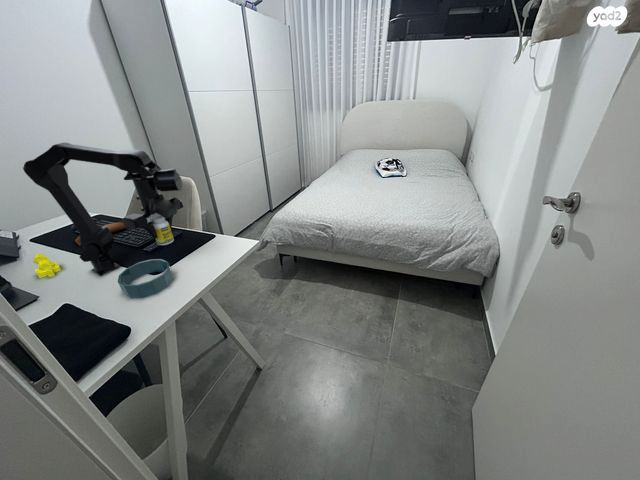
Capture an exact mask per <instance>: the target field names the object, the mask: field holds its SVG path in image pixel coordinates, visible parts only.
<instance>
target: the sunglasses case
mask: <svg viewBox="0 0 640 480" xmlns="http://www.w3.org/2000/svg"><path fill="white" fill-rule="evenodd" d="M101 227H102V228H105V227H107V228H108V229H109V231H110V233H111V234H113V233H116V232H119V231H122V230H128V228H127V226H124V224H123V222H122V221H121V222H120V221H119V222H112V223H108V224H105V225H103V226H101ZM74 242H75V243H76V244H77V245H78V246H80V247H81V246H82V244H81V242H80V235H79V236H78V237H76V239H74Z"/></svg>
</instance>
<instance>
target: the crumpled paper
mask: <svg viewBox="0 0 640 480" xmlns="http://www.w3.org/2000/svg"><path fill="white" fill-rule="evenodd" d="M33 263H34V264H36V265H37V268H36V269H34V271H35V274H36V275H37V277H38V278H39V279H42V278H44V277H48V278H52V277H55V276H56V274H55V273H57V272H61V271H62V269H61V266H60V265H59V263H58V262H57V261H52V260H50V259H49V257H48V256H47V255H44V254H42V253H38V252H37V253H36V254H35V256H34V258H33Z"/></svg>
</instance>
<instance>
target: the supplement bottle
mask: <svg viewBox="0 0 640 480" xmlns="http://www.w3.org/2000/svg"><path fill="white" fill-rule="evenodd" d="M150 220H151V221H153V222H155V223H154V225H153V226H154V228H155V231H156V233H157V237H158V238H157V239H156V238H154V239H155V242H156V244H157V245H158V246H167V245H169V244H172V243H173V242H174V241H175V239H174V235H173V232H172V229H170V226H169V223H168V221H165V218H164V217H162V216H161V215H159V214H157V215H154V216H152V217H150Z"/></svg>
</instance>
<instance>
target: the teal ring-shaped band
mask: <svg viewBox="0 0 640 480" xmlns="http://www.w3.org/2000/svg"><path fill="white" fill-rule="evenodd" d="M153 273H161V274H160V275H158V276H156V277H154V278H153V279H151V280H147V281H145V282H142V283H137V284H132V283H133V282H134V281H135V280H138V279H139V278H141V277H143V276H145V275H149V274H153ZM174 279H175V278H174V274H173V271H172V267H171V265H170V262H169V261H167V260H164V259H162V258H154V259H147V260H143V261H139V262H136V263H135V264H133V265H130V266H128V267H127V268H125V269H124V270H123V271H122V272H121V273H120V274H118V278H117V283H118V285H119V287H120V289H121V291H122V293H123V295H125V297H127V298H129V299H145V298H148V297H151V296H154V295H158V294H159V293H161V292H163V290H165V289H167V288H168V287H169V286H170V285H171V284H172V282H173V281H174Z"/></svg>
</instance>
